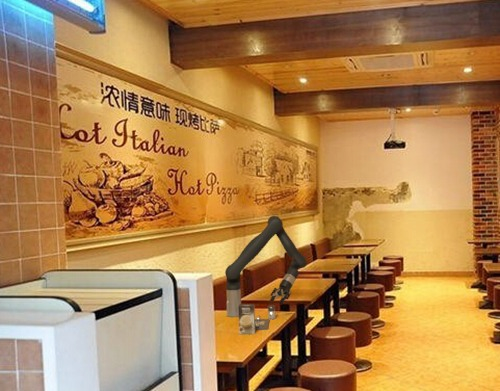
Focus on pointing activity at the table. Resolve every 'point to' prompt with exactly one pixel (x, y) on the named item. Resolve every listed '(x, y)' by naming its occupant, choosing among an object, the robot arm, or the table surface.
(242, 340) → the table surface
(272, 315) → the ball-topped cylinder
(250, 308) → the coffee box
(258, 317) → the plate
